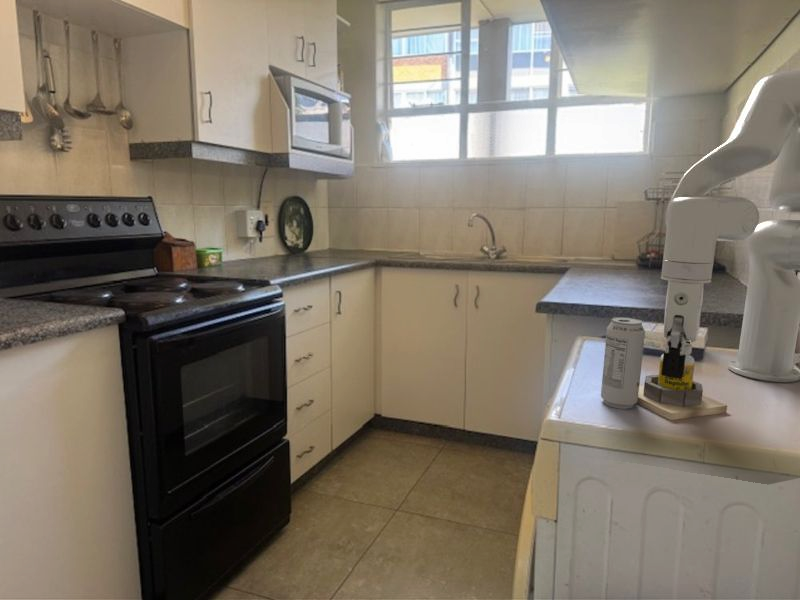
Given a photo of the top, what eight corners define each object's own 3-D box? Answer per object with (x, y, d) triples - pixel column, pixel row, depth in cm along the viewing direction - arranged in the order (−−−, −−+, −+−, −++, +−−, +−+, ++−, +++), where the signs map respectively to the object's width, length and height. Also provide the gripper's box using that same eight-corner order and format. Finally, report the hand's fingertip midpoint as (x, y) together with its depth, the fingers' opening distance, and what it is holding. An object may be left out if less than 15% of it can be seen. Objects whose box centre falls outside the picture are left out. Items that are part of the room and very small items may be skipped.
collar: (671, 388, 103) (673, 369, 103) (726, 412, 92) (729, 391, 91) (619, 394, 100) (621, 375, 99) (670, 420, 88) (672, 398, 88)
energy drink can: (644, 409, 93) (653, 324, 90) (611, 410, 92) (620, 324, 89) (624, 396, 99) (633, 315, 96) (593, 397, 98) (601, 316, 95)
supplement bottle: (687, 393, 97) (693, 341, 96) (693, 403, 92) (700, 349, 91) (654, 389, 99) (660, 338, 97) (658, 399, 94) (664, 346, 92)
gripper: (709, 280, 82) (695, 387, 85) (714, 268, 97) (702, 360, 100) (655, 275, 86) (644, 378, 89) (667, 264, 101) (657, 353, 104)
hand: (674, 368), depth 95 cm, fingers open, 9 cm apart
